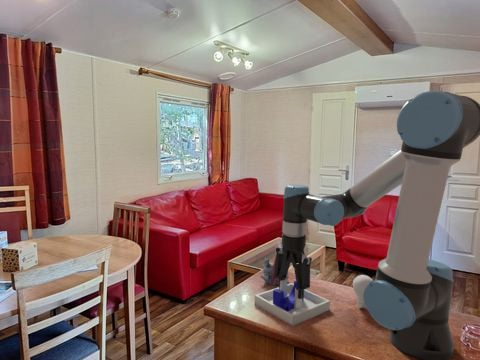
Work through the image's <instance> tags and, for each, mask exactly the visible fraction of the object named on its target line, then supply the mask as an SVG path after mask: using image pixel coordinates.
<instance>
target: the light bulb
mask: <svg viewBox="0 0 480 360" xmlns="http://www.w3.org/2000/svg"><path fill="white" fill-rule="evenodd" d="M373 280H374V279H372V278H371V277H370V276H368V275H366V274H359V275H358V276H356V277H355V278H354V279H353V282H352V287H353V291H354V293H355V294H356V299H357V306H358V307H359V308H360V309H367V308H366V306H365V303H364V290H365V288H366V286H367V285H368V284H369V283H370V282H371V281H373Z"/></svg>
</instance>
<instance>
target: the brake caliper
mask: <svg viewBox="0 0 480 360" xmlns="http://www.w3.org/2000/svg"><path fill="white" fill-rule="evenodd" d="M273 261H274V262H270V259H269V258H264V259H263V261H262V262H263V263H262V264H263V268H262V269H263V270H262V272H263V275H260V278H261V279H262V280H264V282H265V283H266V284H267V285H269V286H279V279H278V277H277V276H275V264H276V255H275V257H274V260H273ZM278 272H279V271H278ZM285 279H287V280H288V281H289V272H288V273H287V278H285Z"/></svg>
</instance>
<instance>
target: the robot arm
mask: <svg viewBox="0 0 480 360" xmlns="http://www.w3.org/2000/svg"><path fill="white" fill-rule="evenodd" d="M396 131H397V134H398V135H399V137H400V140H402V143H401V149H399V150H398V151H396V152H395V153H394V154H393V155H392V156H390V157H388V159H386V160H385V161H384V162H382V163H381V164H380V165H378V166H377V167H376V168H374V169H373V170H372V171H371V172H369V173H368V174H367V175H365V176H364V177H362V178H361V179H360V180H359V181H357V182H356V183H355V184H354V185H352V186H351V187H350V188H348V189H347V190H346V191H344V192H342V193H341V194H338V193H337V194H333V195H324V196H322V195H321V196H320V195H319V196H318V195H315V194H311V193H310V188H309V187H308V186H306V185H303V184H287V185H286V186H285V187H284V193H283V197H282V199H283V209H282V211H283V212H282V227H281V229H282V230H281V232H282V234H281V245H282V246H281V245H280V246H278V247H276V248H275V253H276V254H275V256H276V264H275V276H277V277H278V279H279V285H278V287H279V288H280V290H281V291H283V292H284V298H286V297H287V285H288V284H289V283H288V281H289V279H288V280H287V279H285V278H287V273H288V274H289V269H290V266H291V265H292V268H293V270H294V274H295V275H294V276H295V281H296V282H297V288H295V301H294V308H295V309H297V308H299V307H301V306H302V298H304V289H306V290H308V289H310V288H311V263H312V260H313V259H312V257H310V256H309V257H308V256H307V255H306V254H305V247H306V244H307V243H306V242H307V241H306V240H307V235H306V234H307V225H308V223H307V222H308V221H311V222H316V223H318V224H321V225H324V226H331V227H334V226H337V225H339V223H341V222H342V220H343V219H349V218H356V217H359V216H361V215H364V214H365V213H366V211H367V209H368V207H369V206H371V205H372V204H374V203H376V202H377V201H378V200H380V199H381V198H383V197H384V196H385V195H387V194H389V193H390V192H392V191H393V190H394V189H396V188H398V187H399V186H400V185H401V186H400V190H399V196H398V200H397V205H396V209H395V210H396V211H395V213H394V219H393V220H394V221H393V224H392V229H391V235H390V240H389V244H388V249H387V255H386V257H385V258H384V259H381V260H380V261H378V265H377V268H376V274H375V279H372V280H373V281H371V282H370V283H369V284H368V285H367V286H366V288H365V290H364V303H365V306H366V308H365V309H366V310H367V311H368V312H369V315H370V316H371V317H372V319H374V321H375V322H376V323H378V324H379V325H380V326H382V327H384V328H385V329H388V330H390V333H389V334H390V335H389V339H390V341H391V344H393V345H394V347H396V348H397V349H398V350H400V351H401V352H402V353H404V354H406V355H408V356H411V357H413V358H415V359H418V360H419V359H420V360H450V359H451V358H452V357H453V356H454V350H455V344H454V339H453V335H452V331H451V329H450V325H449V317H450V309H451V300H452V299H451V298H452V288H453V282H454V279H453V276H454V275H453V273H454V272H453V269H452V268H451V267H450V266H449V265H448V264H445V263H443V262H439V261H436V260H433V259H429V258H430V254H431V250H432V247H433V242H434V238H435V237H434V236H435V233H436V230H437V229H436V228H437V224H438V221H439V215H440V212H441V207H442V203H443V198H444V195H445V190H446V185H447V180H448V177H449V173H450V170H451V169H450V168H451V167H452V166H453V165H455V164H457V163H458V162H460V161H461V159H462V155H463V149H464V148H466V147H467V146H469V145H471V144H472V143H474V142H475V141H476V140H477V139H478V138H479V137H480V103H479V102H478V101H477V100H475V99H473V98H471V97H469V96H467V95H461V94H460V95H459V94H455V93H453V92H450V91H449V92H448V91H442V90H439V91H438V90H430V91H429V90H428V91H423V92H421V93H418V94H416V95H414V96H413V97H411V98H410V99H409V100H407V102H406V103H404V105H402V108H401V109H400V111H399V113H398V115H397V118H396ZM278 271H279V272H278Z"/></svg>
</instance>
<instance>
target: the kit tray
mask: <svg viewBox="0 0 480 360" xmlns="http://www.w3.org/2000/svg"><path fill="white" fill-rule="evenodd" d="M293 286H294V283H293V282H291V283H288V285H287V296H288V295H289V294H290V293H291V291H292V289H293ZM274 289H278V290H280V288H279V286H278V287H276V288H275V287H274V288H273V289H269V290H266V291H263V292H260V293H257V294H255V295H254V304H255V305H256V306H257V307H259V308H261V309H262V310H264V311H266V312H268V313H269V314H271V315H272V316H275V317H276V318H277V319H279V320H282V321H283V322H285V323H286V324H288V325H289V326H291V327H294V326H297V325H299V324H301V323H304V322H306V321H308V320H311V319H312V318H315V317H317V316H320V315H321V314H322V315H323V313H326V312H328V311H330V308H331V300H329V299H327V298H325V297H323V296H321V295H318V294H316V293H314V292H312V291H310V290H308V289H304V300H303V301H302V306H301V307H299V308H297V309H295V308H294V309H292V310H290V311H288V312H287V311H285V310H283V309H282V308H280V307H278V306H276V305H274V304H273V290H274Z"/></svg>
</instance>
